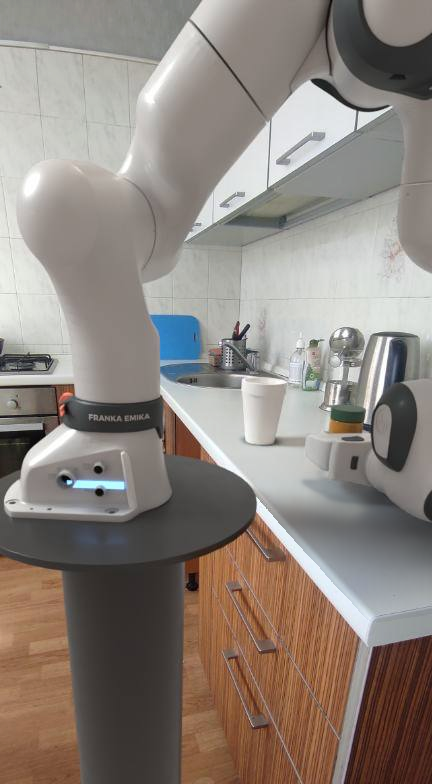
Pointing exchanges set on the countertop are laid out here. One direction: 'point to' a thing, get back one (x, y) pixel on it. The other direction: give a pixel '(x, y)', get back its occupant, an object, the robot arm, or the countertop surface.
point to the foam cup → (262, 408)
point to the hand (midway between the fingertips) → (347, 435)
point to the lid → (348, 413)
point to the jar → (345, 427)
